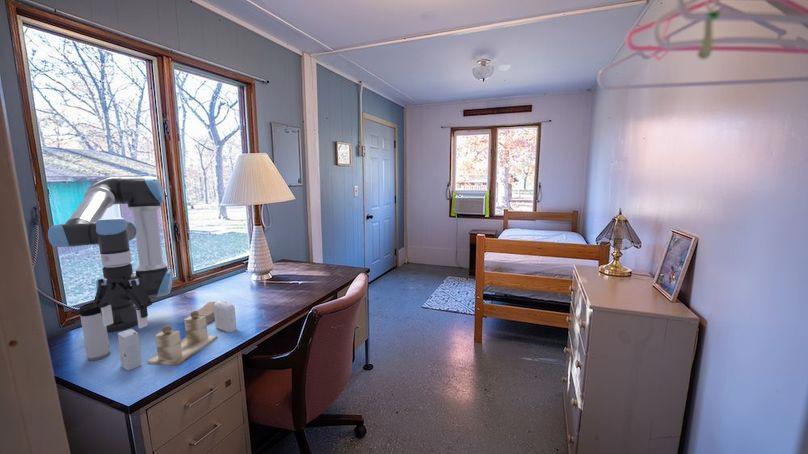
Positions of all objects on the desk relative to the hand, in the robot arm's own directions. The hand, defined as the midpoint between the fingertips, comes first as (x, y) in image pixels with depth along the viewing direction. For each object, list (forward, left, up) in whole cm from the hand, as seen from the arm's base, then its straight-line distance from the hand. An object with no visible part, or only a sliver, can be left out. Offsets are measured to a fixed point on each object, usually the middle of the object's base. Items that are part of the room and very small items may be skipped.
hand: (125, 325), depth 115 cm
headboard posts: (+10, +12, -15) cm, 22 cm away
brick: (-3, +41, -15) cm, 44 cm away
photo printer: (+14, +30, -15) cm, 36 cm away
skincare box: (0, 0, -15) cm, 15 cm away
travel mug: (-18, +4, -15) cm, 24 cm away
